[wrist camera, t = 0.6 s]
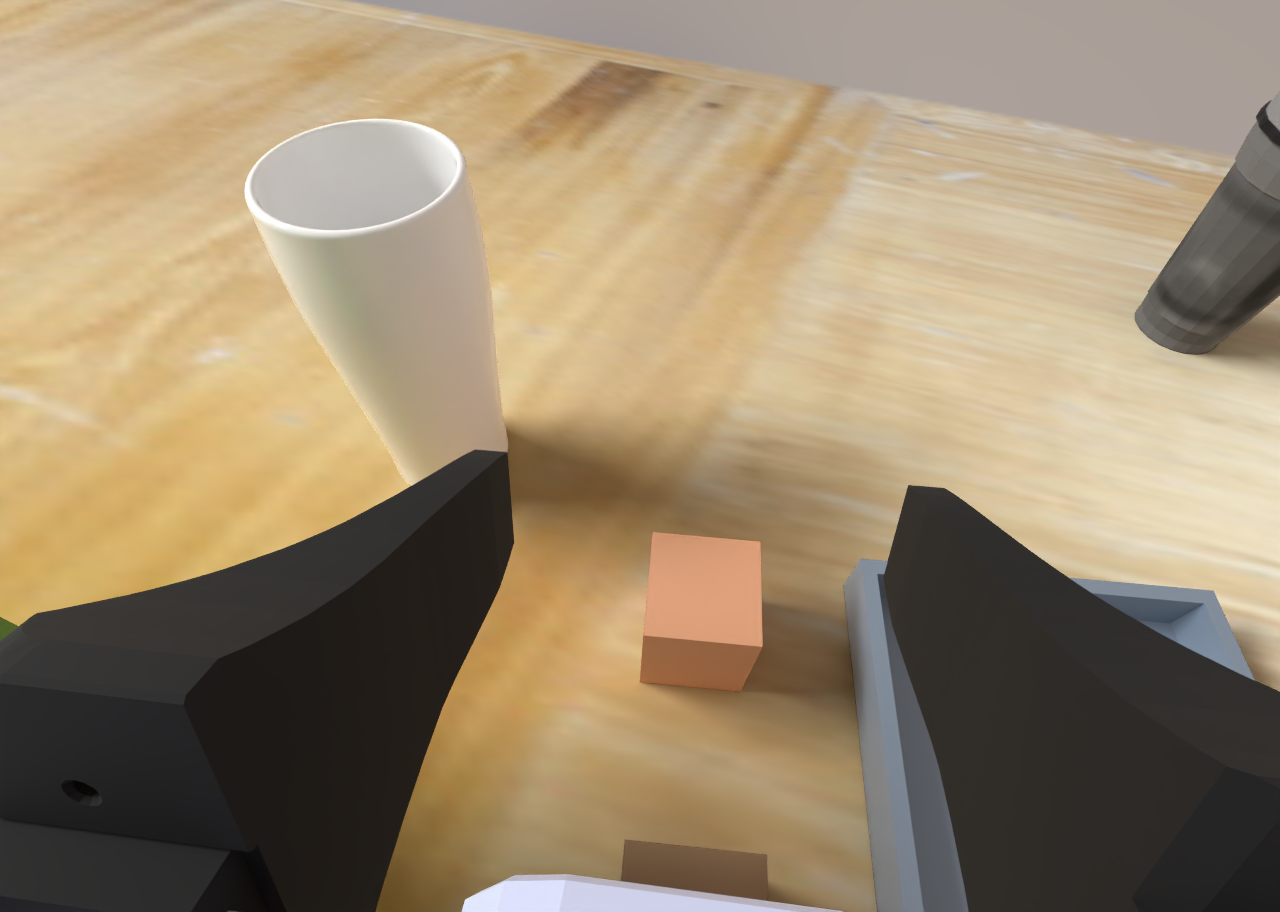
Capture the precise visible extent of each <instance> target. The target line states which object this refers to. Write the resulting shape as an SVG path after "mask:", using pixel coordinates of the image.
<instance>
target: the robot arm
mask: <svg viewBox="0 0 1280 912" xmlns="http://www.w3.org/2000/svg"><path fill="white" fill-rule="evenodd" d="M513 544H514V534H513V521H512V508H511V495H510V482H509V469H508V456H507V452H500V451H488V450H476V449H475V450H473V451H471V452H469V453H467V454H465V455H463V456H461V457H459V458H458V459H456V460H454V461H452V462H451V463H449V464H447V465H446V466H444V467H442V468H441V469H439V470H437V471H436V472H434V473H432V474H431V475H429V476H427V477H426V478H424V479H422V480H421V481H419V482H417V483H415V484H414V485H412V486H410V487H409V488H407V489H405V490H404V491H402V492H400V493H398V494H397V495H395V496H393V497H391V498H389V499H387V500H386V501H384V502H382V503H380V504H378V505H376V506H374V507H372V508H371V509H369V510H367V511H365V512H363V513H361V514H359V515H357V516H355V517H354V518H352V519H350V520H348V521H346V522H344V523H342V524H339V525H337V526H335V527H333V528H331V529H329V530H327V531H324V532H322V533H320V534H317V535H315V536H313V537H310V538H308V539H306V540H303V541H301V542H298V543H296V544H294V545H291V546H289V547H286V548H284V549H281V550H278V551H275V552H272V553H269V554H266V555H264V556H261V557H258V558H255V559H252V560H249V561H246V562H244V563H241V564H238V565H235V566H232V567H229V568H226V569H223V570H220V571H217V572H213V573H210V574H206V575H203V576H200V577H196V578H193V579H189V580H186V581H182V582H178V583H174V584H171V585H167V586H163V587H159V588H155V589H151V590H147V591H143V592H139V593H135V594H130V595H126V596H121V597H116V598H112V599H107V600H102V601H97V602H92V603H87V604H82V605H78V606H73V607H68V608H63V609H58V610H53V611H47V612H41V613H37V614H35V615H33V616H32V617H30V618H29V619H28V620H26V621H25V622H24V623H23V624H21V625H20V626H19V627H17V628H16V629H15V630H14V631H12V632H11V633H10V634H8V635H7V636H6V637H5V638H3V639H2V640H1V641H0V912H375V911H376V907H377V904H378V900H379V897H380V893H381V890H382V887H383V883H384V880H385V877H386V873H387V870H388V867H389V864H390V861H391V858H392V854H393V851H394V848H395V845H396V842H397V838H398V835H399V832H400V829H401V826H402V822H403V819H404V816H405V813H406V810H407V807H408V804H409V801H410V798H411V795H412V792H413V789H414V786H415V783H416V780H417V777H418V775H419V772H420V769H421V766H422V763H423V760H424V757H425V754H426V751H427V749H428V746H429V743H430V740H431V738H432V735H433V732H434V729H435V727H436V724H437V721H438V718H439V716H440V713H441V710H442V707H443V705H444V703H445V701H446V698H447V696H448V694H449V691H450V689H451V687H452V685H453V683H454V680H455V678H456V676H457V674H458V672H459V670H460V668H461V666H462V664H463V662H464V660H465V658H466V656H467V654H468V652H469V650H470V648H471V646H472V644H473V642H474V640H475V638H476V636H477V634H478V632H479V630H480V628H481V626H482V623H483V621H484V619H485V617H486V615H487V613H488V611H489V609H490V607H491V605H492V603H493V601H494V599H495V596H496V594H497V592H498V590H499V588H500V585H501V582H502V579H503V576H504V573H505V570H506V567H507V564H508V561H509V557H510V554H511V551H512V548H513ZM884 583H885V589H886V595H887V601H888V607H889V612H890V617H891V622H892V627H893V630H894V633H895V636H896V639H897V642H898V645H899V648H900V651H901V654H902V657H903V660H904V663H905V666H906V669H907V672H908V675H909V678H910V681H911V683H912V686H913V689H914V692H915V695H916V698H917V701H918V704H919V707H920V710H921V713H922V715H923V718H924V721H925V724H926V727H927V730H928V733H929V736H930V739H931V742H932V745H933V749H934V752H935V756H936V759H937V762H938V766H939V770H940V775H941V779H942V783H943V788H944V792H945V797H946V801H947V806H948V810H949V814H950V819H951V823H952V828H953V833H954V838H955V843H956V848H957V853H958V858H959V863H960V868H961V873H962V878H963V883H964V888H965V894H966V899H967V905H968V911H969V912H1280V692H1279V691H1277V690H1275V689H1272V688H1270V687H1268V686H1266V685H1264V684H1261V683H1259V682H1257V681H1255V680H1252V679H1250V678H1248V677H1246V676H1244V675H1242V674H1239V673H1237V672H1235V671H1233V670H1231V669H1229V668H1227V667H1225V666H1223V665H1221V664H1219V663H1217V662H1215V661H1213V660H1211V659H1209V658H1207V657H1205V656H1203V655H1201V654H1199V653H1197V652H1195V651H1193V650H1191V649H1189V648H1187V647H1185V646H1183V645H1181V644H1179V643H1177V642H1175V641H1173V640H1172V639H1170V638H1168V637H1166V636H1164V635H1162V634H1160V633H1158V632H1157V631H1155V630H1153V629H1151V628H1150V627H1148V626H1146V625H1144V624H1143V623H1141V622H1139V621H1137V620H1136V619H1134V618H1132V617H1131V616H1129V615H1127V614H1125V613H1124V612H1122V611H1120V610H1118V609H1117V608H1115V607H1113V606H1112V605H1110V604H1108V603H1107V602H1105V601H1104V600H1102V599H1100V598H1099V597H1097V596H1095V595H1094V594H1092V593H1091V592H1089V591H1088V590H1086V589H1085V588H1083V587H1082V586H1080V585H1079V584H1077V583H1076V582H1074V581H1073V580H1071V579H1070V578H1068V577H1067V576H1065V575H1064V574H1062V573H1061V572H1059V571H1058V570H1056V569H1055V568H1054V567H1052V566H1051V565H1049V564H1048V563H1046V562H1045V561H1044V560H1042V559H1041V558H1039V557H1038V556H1037V555H1035V554H1034V553H1033V552H1031V551H1030V550H1028V549H1027V548H1026V547H1024V546H1023V545H1022V544H1020V543H1019V542H1018V541H1016V540H1015V539H1014V538H1012V537H1011V536H1010V535H1008V534H1007V533H1006V532H1004V531H1003V530H1002V529H1000V528H999V527H998V526H996V525H995V524H994V523H992V522H991V521H990V520H988V519H987V518H986V517H985V516H983V515H982V514H981V513H979V512H978V511H977V510H975V509H974V508H973V507H971V506H970V505H969V504H967V503H966V502H964V501H963V500H962V499H960V498H959V497H957V496H956V495H954V494H953V493H951V492H950V491H948V490H947V489H945V488H936V487H924V486H912V485H908V488H907V492H906V496H905V499H904V503H903V507H902V510H901V514H900V518H899V522H898V525H897V529H896V533H895V536H894V540H893V544H892V547H891V551H890V555H889V558H888V562H887V566H886V569H885V573H884ZM462 912H844V911H838V910H831V909H823V908H816V907H808V906H801V905H793V904H786V903H779V902H771V901H764V900H756V899H749V898H742V897H734V896H727V895H719V894H712V893H704V892H697V891H690V890H682V889H675V888H667V887H660V886H653V885H645V884H638V883H630V882H623V881H615V880H608V879H601V878H593V877H586V876H578V875H571V874H550V875H514V876H512V877H510V878H508V879H506V880H504V881H502V882H499V883H497V884H495V885H493V886H491V887H489V888H487V889H484V890H482V891H480V892H478V893H476V894H475V895H473V896H471V897H469V898H467V899H466V900H465V902H464V905H463V909H462Z"/></svg>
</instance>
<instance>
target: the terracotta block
mask: <svg viewBox="0 0 1280 912" xmlns="http://www.w3.org/2000/svg"><path fill="white" fill-rule="evenodd" d="M762 647H763V640H762V595H761V550H760V542H758V541H747V540H736V539H725V538H714V537H703V536H692V535H680V534H669V533H658V532H653V534H652V545H651V556H650V568H649V579H648V590H647V601H646V612H645V624H644V635H643V648H642V660H641V673H640V682H646V683H656V684H666V685H676V686H686V687H697V688H707V689H717V690H727V691H738V692H741V690H742V688H743V686H744V684H745V682H746V680H747V678H748V676H749V674H750V672H751V670H752V668H753V666H754V663H755V661H756V659H757V657H758V655H759V653H760V651H761V649H762Z"/></svg>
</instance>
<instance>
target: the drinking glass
mask: <svg viewBox="0 0 1280 912" xmlns="http://www.w3.org/2000/svg"><path fill="white" fill-rule="evenodd" d="M245 199H246V203H247V206H248V208H249V210H250V212H251V214H252V216H253V218H254V221H255V223H256V225H257V228H258V230H259V232H260V235H261V237H262V239H263V241H264V244H265V246H266V248H267V250H268V252H269V254H270V257H271V259H272V261H273V263H274V265H275V267H276V269H277V271H278V273H279V275H280V277H281V279H282V281H283V283H284V285H285V287H286V288H287V290H288V292H289V294H290V296H291V298H292V300H293V301H294V303H295V305H296V307H297V308H298V310H299V312H300V314H301V315H302V317H303V319H304V320H305V322H306V324H307V325H308V327H309V329H310V330H311V332H312V333H313V335H314V337H315V338H316V340H317V341H318V343H319V344H320V346H321V347H322V349H323V351H324V352H325V354H326V355H327V357H328V358H329V360H330V361H331V363H332V364H333V366H334V367H335V369H336V370H337V372H338V373H339V375H340V377H341V378H342V380H343V381H344V383H345V384H346V386H347V387H348V389H349V390H350V392H351V393H352V395H353V396H354V398H355V400H356V401H357V403H358V404H359V406H360V407H361V409H362V410H363V412H364V414H365V415H366V417H367V418H368V420H369V421H370V423H371V424H372V426H373V428H374V429H375V431H376V432H377V434H378V435H379V437H380V439H381V440H382V442H383V443H384V445H385V447H386V448H387V450H388V451H389V453H390V455H391V457H392V459H393V461H394V463H395V465H396V467H397V469H398V471H399V473H400V475H401V476H402V478H403V479H404V480H405V481H406V482H407V483H408V484H409V485H410V486H412V485H414V484H415V483H417V482H419V481H421V480H422V479H424V478H426V477H427V476H429V475H431V474H432V473H434V472H436V471H437V470H439V469H441V468H442V467H444V466H446V465H447V464H449V463H451V462H452V461H454V460H456V459H458V458H459V457H461V456H463V455H465V454H467V453H469V452H471V451H473V450H475V449H476V450H488V451H500V452H507V454H508V437H507V432H506V428H505V423H504V418H503V410H502V401H501V391H500V380H499V370H498V359H497V348H496V337H495V326H494V314H493V303H492V293H491V283H490V275H489V267H488V260H487V253H486V247H485V242H484V236H483V231H482V226H481V221H480V217H479V213H478V208H477V204H476V200H475V196H474V192H473V188H472V184H471V180H470V177H469V173H468V169H467V164H466V160H465V157H464V155H463V153H462V151H461V150H460V148H459V147H458V146H457V145H456V144H455V143H454V142H453V141H452V140H451V139H450V138H448V137H447V136H445V135H444V134H442V133H440V132H439V131H437V130H434V129H432V128H430V127H427V126H424V125H421V124H417V123H413V122H407V121H401V120H393V119H361V120H351V121H344V122H338V123H333V124H329V125H325V126H321V127H317V128H314V129H311V130H308V131H306V132H303V133H300V134H298V135H296V136H293V137H291V138H289V139H287V140H285V141H284V142H282V143H280V144H279V145H277V146H275V147H274V148H273V149H271V150H270V151H268V152H267V153H266V154H265V155H264V156H263V157H262V158H261V159H260V160H259V161H258V162H257V163H256V164H255V165H254V167H253V168H252V170H251V171H250V173H249V175H248V177H247V180H246V184H245Z"/></svg>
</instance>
